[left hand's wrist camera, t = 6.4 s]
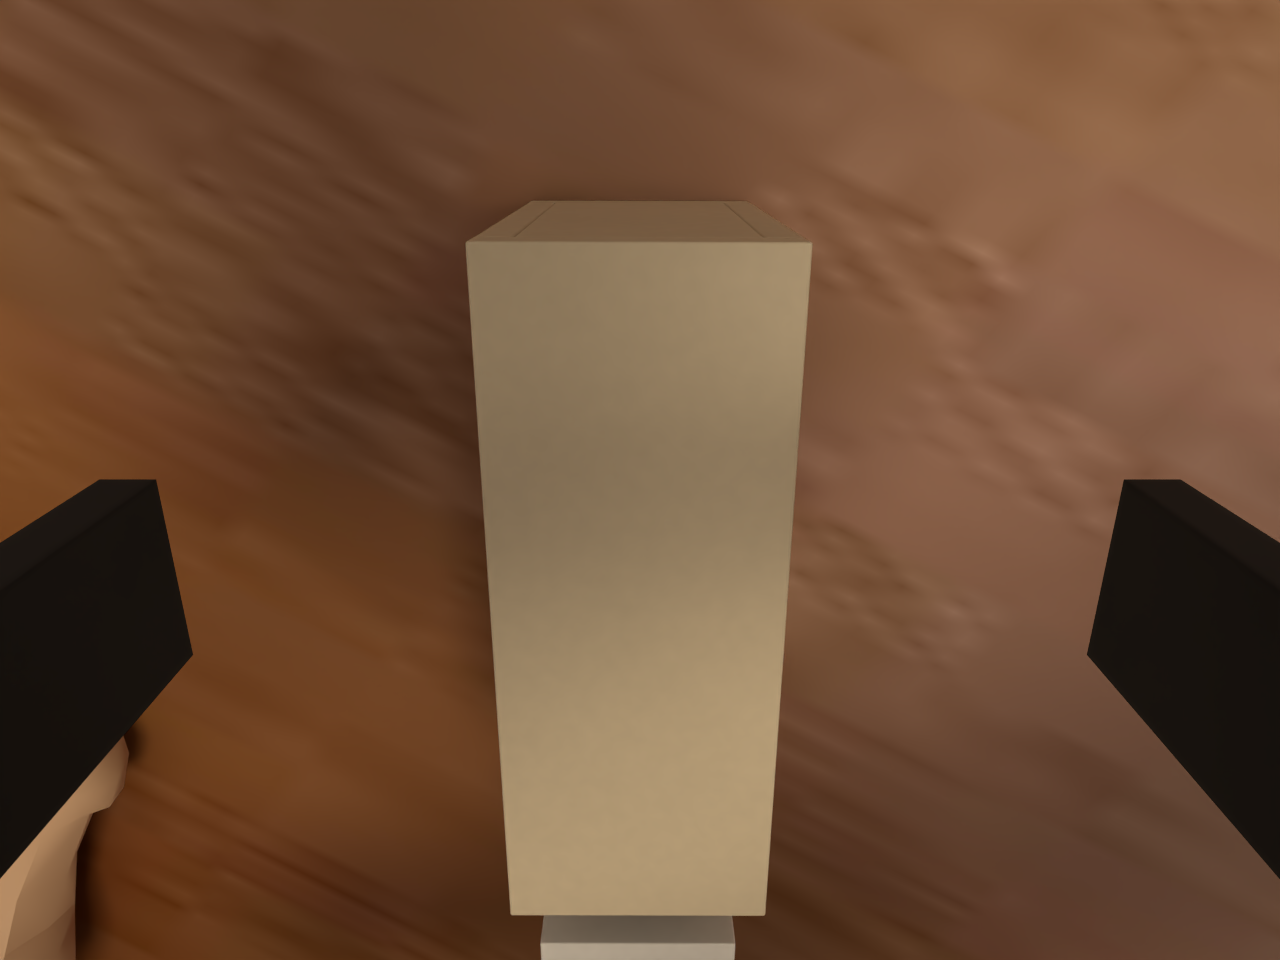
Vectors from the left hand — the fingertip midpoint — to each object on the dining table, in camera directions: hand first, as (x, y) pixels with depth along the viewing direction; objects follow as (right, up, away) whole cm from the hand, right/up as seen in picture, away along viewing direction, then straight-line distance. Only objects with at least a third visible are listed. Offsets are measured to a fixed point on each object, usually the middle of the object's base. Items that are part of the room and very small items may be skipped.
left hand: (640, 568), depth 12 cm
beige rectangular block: (0, +2, +18) cm, 18 cm away
